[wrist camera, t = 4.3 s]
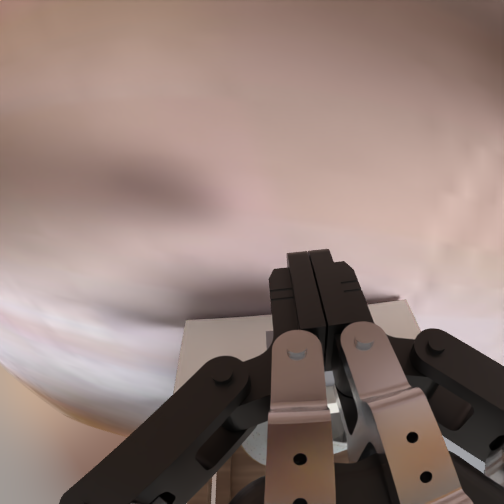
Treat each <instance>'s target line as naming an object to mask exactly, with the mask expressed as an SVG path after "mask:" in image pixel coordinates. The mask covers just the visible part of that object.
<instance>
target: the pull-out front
mask: <svg viewBox="0 0 504 504" xmlns="http://www.w3.org/2000/svg"><path fill="white" fill-rule="evenodd" d="M368 308H369V310H370V313H371V316H372V318H373V321H374V323H375V324H376V325H378V326H379V327H381V328H382V329H383V330H384V332H385V333H386V334H387V335H389V336H392V337H397V338H406V339H415V338H416V337H417V335H418V334H419V333H420V332H421V331H420V328H419V326H418V324H417V322H416V320H415V317H414V315H413V313H412V311H411V309H410V307H409V304H408V302H407V300H406V299H405V300H398V301H391V302H384V303H376V304H369V305H368ZM272 341H273V323H272V315H261V316H248V317H233V318H217V319H199V320H186V322H185V328H184V333H183V339H182V344H181V350H180V356H179V362H178V368H177V374H176V380H175V386H174V392H173V394H174V393H175V392H176V391H177V390H178V389H179V388H180V387H181V386H183V385H184V384H185V383H186V382H187V381H188V380H189V379H190V378H191V377H192V376H193V375H194V374H195V373H196V372H197V371H198V370H199V369H200V368H201V367H202V366H203V365H204V364H205V363H206V362H207V361H209V360H211V359H213V358H215V357H219V356H233V357H236V358H238V359H240V360H241V361H243V362H244V361H246V360H249V359H252V358H255V357H257V356H259V355H261V354H262V353H264V352H265V351H266V350H267V349H268V348H269V347H270V345H271V343H272ZM324 374H325V385H326V396H327V405H328V408H329V409H330V413H337V412H339V409H338V406H337V402H336V398H335V395H334V391H333V386H334V376H333V371H326V372H324Z"/></svg>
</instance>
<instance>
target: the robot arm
mask: <svg viewBox="0 0 504 504" xmlns="http://www.w3.org/2000/svg"><path fill="white" fill-rule="evenodd" d="M269 288H270V299H271V311H272V323H273V341H272V343H271V345H270V347H269V348H268V349H267V350H266V351H265V352H264V353H262V354H261V355H259V356H257V357H255V358H252V359H249V360H246V361H244V362H243V361H241V360H240V359H238V358H236V357H233V356H219V357H215V358H213V359H211V360H209V361H207V362H206V363H205V364H204V365H203V366H202V367H201V368H200V369H199V370H198V371H197V372H196V373H195V374H194V375H193V376H192V377H191V378H190V379H189V380H188V381H187V382H186V383H185V384H184V385H183V386H181V387H180V388H179V389H178V390H177V391H176V392H175V393H174V394H173V395H172V396H171V397H170V398H169V399H168V400H167V401H166V402H165V403H164V404H163V405H162V406H161V407H160V408H159V409H158V410H156V411H155V412H154V413H153V414H152V415H151V416H150V417H149V418H148V419H147V420H146V421H145V422H144V423H143V424H142V425H140V426H139V427H138V428H137V429H136V430H135V431H134V432H133V433H132V434H131V435H130V436H129V437H128V438H126V440H124V441H123V442H122V443H121V444H120V445H119V446H118V447H117V448H116V449H114V450H113V451H112V452H111V453H110V454H109V455H108V456H107V457H105V458H104V459H103V460H102V461H101V462H100V463H99V464H98V465H97V466H95V467H94V468H93V469H92V470H91V471H90V472H89V473H87V474H86V475H85V476H84V477H83V478H82V479H80V480H79V481H78V482H77V483H76V484H75V485H74V486H73V487H71V488H70V489H69V490H68V491H67V492H66V493H64V494H63V496H62V497H61V500H60V503H59V504H186V503H187V502H188V501H189V500H190V499H191V498H192V497H193V496H194V495H195V494H196V493H197V492H198V491H199V490H200V489H201V488H202V487H203V486H204V485H205V484H206V483H207V482H208V481H209V480H210V479H211V478H212V476H213V475H214V474H215V473H216V472H217V471H218V470H219V469H220V468H221V467H222V466H223V465H224V464H225V462H226V461H227V460H228V459H229V458H230V457H231V456H232V455H233V454H234V452H235V451H236V450H237V449H238V448H239V447H240V446H241V445H242V443H243V442H244V441H245V440H246V439H247V438H248V436H249V435H250V434H251V433H252V432H253V431H254V429H255V428H256V427H257V425H258V424H261V423H264V422H266V421H268V430H267V454H266V475H265V476H262V477H260V478H258V479H256V480H254V481H252V482H251V483H249V484H248V485H247V486H245V487H244V488H243V489H241V490H240V491H239V492H238V493H237V494H236V495H235V496H234V497H233V498H232V500H231V501H230V502H229V503H228V504H504V366H502V365H501V364H499V363H497V362H496V361H494V360H492V359H491V358H489V357H487V356H486V355H484V354H482V353H481V352H479V351H477V350H476V349H474V348H472V347H471V346H469V345H467V344H465V343H464V342H462V341H460V340H459V339H457V338H455V337H453V336H452V335H450V334H448V333H447V332H445V331H443V330H440V329H426V330H424V331H422V332H420V333H419V334H418V335H417V337H416V338H415V339H406V338H397V337H392V336H389V335H387V334H386V333H385V332H384V330H383V329H382V328H381V327H379V326H378V325H376V324H375V323H374V321H373V318H372V316H371V313H370V310H369V308H368V305H367V302H366V300H365V297H364V295H363V292H362V291H361V287H360V285H359V282H358V280H357V277H356V275H355V272H354V270H353V269H352V268H351V267H350V266H349V265H348V264H347V263H346V262H344V261H342V262H333V259H332V256H331V254H330V251H329V249H322V250H313V251H308V252H307V251H304V252H295V253H287V268H279V269H274V270H273V272H272V274H271V276H270V278H269ZM326 371H333V376H334V386H333V391H334V395H335V398H336V402H337V406H338V409H339V413H340V416H341V420H342V423H343V427H344V431H345V434H346V439H347V454H348V460H349V463H334V452H333V437H332V424H331V414H330V409H329V408H328V405H327V396H326V385H325V374H324V372H326ZM442 435H443V436H444V437H446V438H447V439H449V440H450V441H452V442H453V443H455V444H456V445H458V446H460V447H461V448H463V449H464V450H466V451H467V452H469V453H470V454H472V455H474V456H475V457H477V458H478V459H480V460H481V461H483V462H485V470H484V474H483V473H482V472H480V471H479V470H478V469H476V468H474V467H473V466H472V465H470V464H469V463H467V462H466V461H465V460H463V459H462V458H460V457H459V456H457V455H456V454H454V453H452V452H450V451H448V449H447V447H446V444H445V441H444V439H443V436H442Z"/></svg>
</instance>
